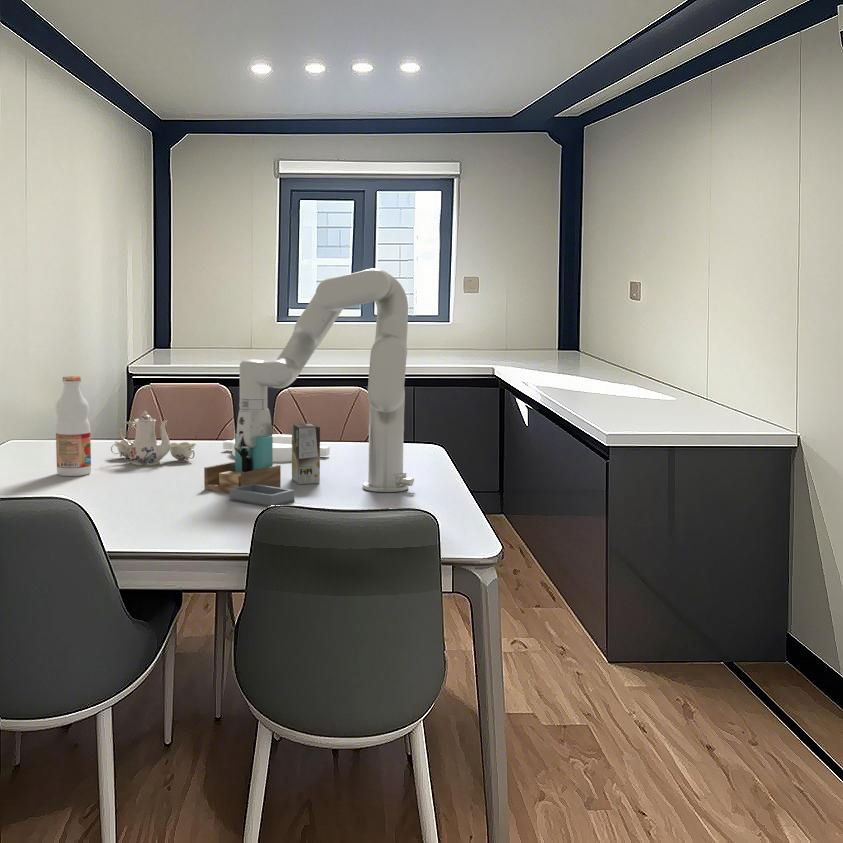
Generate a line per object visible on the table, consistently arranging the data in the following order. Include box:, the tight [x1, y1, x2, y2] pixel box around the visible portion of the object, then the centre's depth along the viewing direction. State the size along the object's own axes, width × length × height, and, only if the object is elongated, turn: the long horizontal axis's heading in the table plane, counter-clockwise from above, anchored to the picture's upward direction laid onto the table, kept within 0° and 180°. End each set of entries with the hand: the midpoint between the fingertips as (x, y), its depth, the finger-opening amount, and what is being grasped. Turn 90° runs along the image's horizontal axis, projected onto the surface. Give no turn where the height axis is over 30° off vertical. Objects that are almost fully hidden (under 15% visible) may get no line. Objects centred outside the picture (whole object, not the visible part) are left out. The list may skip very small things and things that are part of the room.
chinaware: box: [110, 410, 196, 466], centre depth 327 cm, size 28×17×17 cm, turn 85°
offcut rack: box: [203, 461, 282, 495], centre depth 288 cm, size 14×15×6 cm
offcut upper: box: [219, 471, 241, 485], centre depth 285 cm, size 7×4×2 cm, turn 57°
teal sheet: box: [234, 434, 274, 473], centre depth 292 cm, size 10×4×14 cm, turn 58°
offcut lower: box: [220, 483, 241, 488], centre depth 286 cm, size 7×4×2 cm, turn 56°
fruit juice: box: [55, 375, 92, 477], centre depth 303 cm, size 9×9×28 cm
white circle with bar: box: [222, 433, 331, 463], centre depth 345 cm, size 28×28×5 cm
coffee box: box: [291, 422, 321, 485], centre depth 300 cm, size 9×6×16 cm
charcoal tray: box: [229, 484, 296, 508], centre depth 273 cm, size 14×9×3 cm, turn 58°
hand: (253, 469), depth 292 cm, fingers open, 4 cm apart
